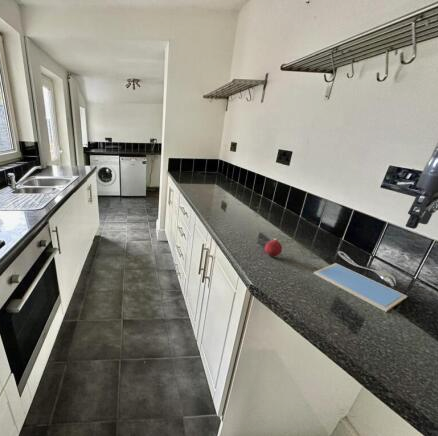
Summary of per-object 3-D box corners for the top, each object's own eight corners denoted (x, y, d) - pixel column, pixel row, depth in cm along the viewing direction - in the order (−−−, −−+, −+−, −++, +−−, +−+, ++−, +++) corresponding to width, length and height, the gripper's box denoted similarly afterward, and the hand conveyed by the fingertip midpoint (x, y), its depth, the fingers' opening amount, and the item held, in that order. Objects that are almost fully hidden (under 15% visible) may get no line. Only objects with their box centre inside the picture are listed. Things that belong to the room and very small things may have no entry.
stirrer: (335, 247, 93) (345, 246, 93) (332, 254, 94) (341, 253, 95) (392, 280, 75) (403, 279, 76) (387, 289, 77) (397, 287, 77)
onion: (274, 262, 88) (279, 243, 85) (260, 255, 92) (264, 237, 89) (281, 257, 91) (287, 239, 88) (267, 251, 95) (272, 234, 92)
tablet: (334, 264, 88) (335, 262, 87) (406, 298, 71) (408, 295, 71) (313, 273, 82) (314, 271, 82) (386, 312, 65) (387, 309, 65)
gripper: (453, 178, 60) (424, 234, 66) (470, 174, 66) (442, 226, 72) (413, 173, 66) (389, 224, 72) (432, 170, 72) (409, 218, 78)
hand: (416, 225), depth 72 cm, fingers open, 8 cm apart
